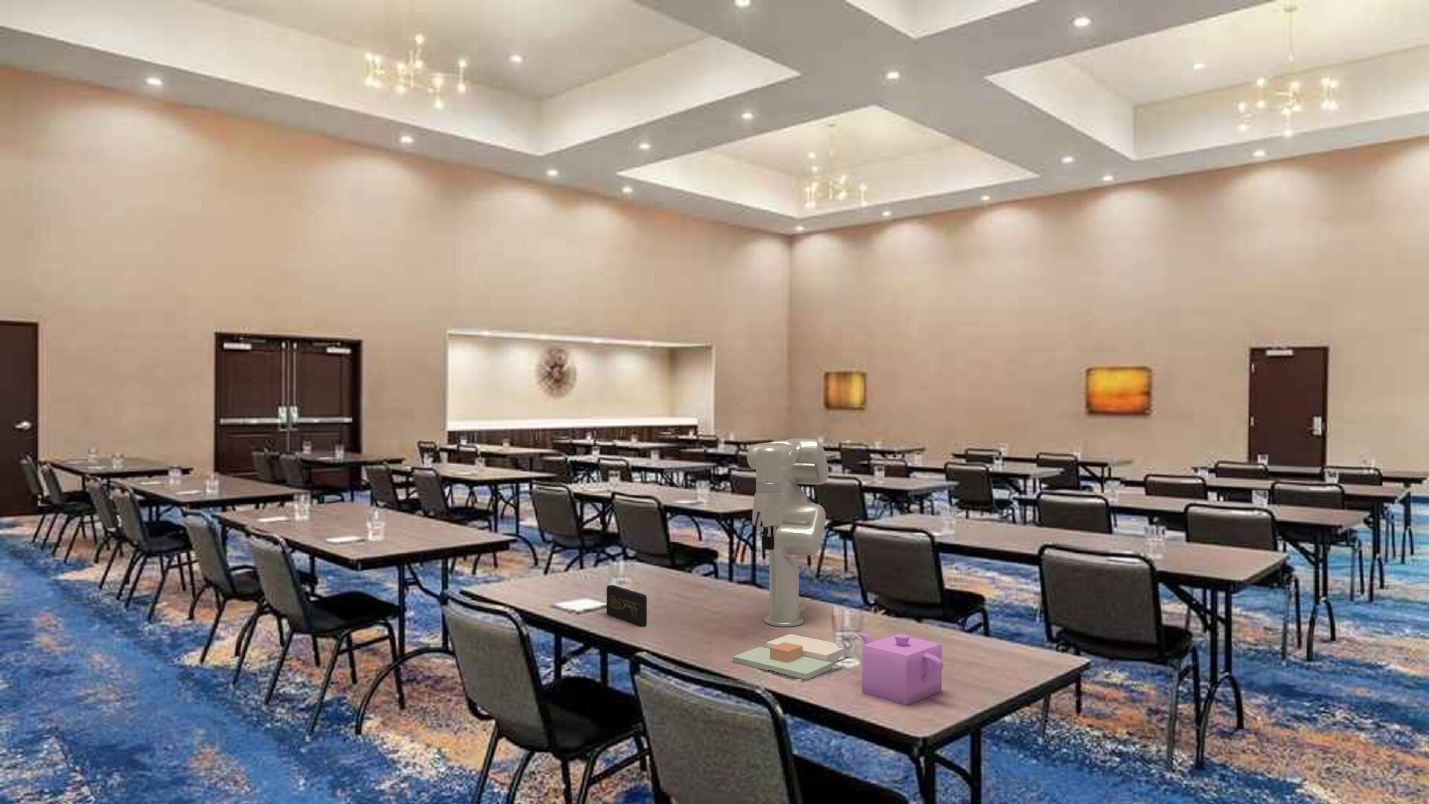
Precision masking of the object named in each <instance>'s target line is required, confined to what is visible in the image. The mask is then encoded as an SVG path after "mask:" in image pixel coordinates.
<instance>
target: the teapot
mask: <svg viewBox="0 0 1429 804" xmlns="http://www.w3.org/2000/svg"><path fill="white" fill-rule="evenodd" d="M856 634H857V635H858V636H859V637H860V638H861V639H862V641H863V643H864V644H862V646H861V693H862V694H866V695H870V696H873V697H876V698H880V699H883V700H885V701H888V702H889V701H890V702H893V703H897V704H900V705H903V706H909V705H912V704H914V703H917V702H919V701H921V700H923V699H926V698H928V697H931V696H933V695H936V694H938V693H940V692H942V689H943V688H942V677H943V676H942V675H943V674H942V672H943V668H944V662H943V659H942V658H943V654H942V653H943V650H942V649H943V646H942V644H941V643H938V642H932V641H929V640H925V639H920V638H916V637H912V636H910V635H908V634H904V633H898V634H897V633H896V634H895V635H890V636H887V637H883V638H881V639H878V640H874V641H873V638H871V636H870V635H869V634H866V633H865V632H856Z"/></svg>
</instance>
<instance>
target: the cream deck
mask: <svg viewBox="0 0 1429 804" xmlns="http://www.w3.org/2000/svg"><path fill="white" fill-rule="evenodd" d="M784 642H786V643H791V644H796V645H800V646H803V656H804V657H809V658H813V659H818V660H822V661H827V662H831V663H832V665H833V664H837V663H838V662H839V661H838V660H839V658H840V657H841V655H842V654H843V652H844V649H845V648H838V647H837V645H836V642H831V641H827V640H823V639H822V640H821V639H816V638H813V637H812V638H811V637H807V636H802V635H799V634H798V635H797V634H792V633H788V634H785V635H784V636H780V637H777V638H775V639H773V640H770V641H767V642H766V645H765V646H766V647H765V648H768V649H770V647H773V646H775V645H778V644H781V643H784ZM837 661H838V662H837Z"/></svg>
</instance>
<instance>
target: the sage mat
mask: <svg viewBox="0 0 1429 804" xmlns="http://www.w3.org/2000/svg"><path fill="white" fill-rule="evenodd" d="M732 663H734V664H739V665H743V666H748V667H751V668H757V669H761V670H765V671H768V670H774V671H776V672H779V673H778V674H780V673H784V674H786V675H785V676H788V675H789V676H788V677H793V676H794V677H793V678H796V679H802V680H804V681H805V680H806V681H807V680H809V679H811V678H814V677H816V676H818V675H821V674H823V673H825V672H827V671H829V670H832V669H833V664H832V663H831V662H827V661H822V660H818V659H813V658H809V657H804V656H803V657H801V658H799V659H796V660H794V661H791V662H789V663H787V662H783V661H778V660H774V659H770V649H768V648H766V647H763V646H758V647H756V648H755V647H754V648H752V649H750V650H747V651H745V652H741V653H739V654H737V655H733V656H732ZM776 672H775V673H776ZM784 674H783V675H784Z"/></svg>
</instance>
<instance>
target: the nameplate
mask: <svg viewBox="0 0 1429 804" xmlns="http://www.w3.org/2000/svg"><path fill="white" fill-rule="evenodd" d="M647 605H648V597H647V595H646V594H645V593H641V592H637V591H634V590H631V589H628V588H624V587H621V586H617V585H615V584H610V585H607V586H606V614H607V615H606V616H609V617H613V618H615V619H617V620H620V621H623V622H626V623H629V624H632V625H635V626H636V627H639V628H642V627H646V626H647V624H648V622H647V621H648V618H647V617H648V614H647V613H648V606H647Z"/></svg>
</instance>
